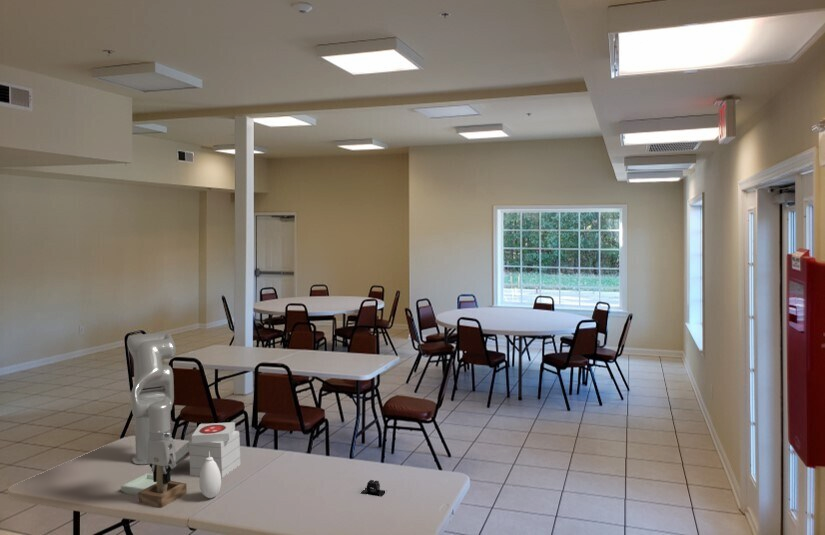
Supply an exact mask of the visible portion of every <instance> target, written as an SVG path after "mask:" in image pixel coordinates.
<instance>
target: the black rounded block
mask: <svg viewBox="0 0 825 535" xmlns="http://www.w3.org/2000/svg"><path fill="white" fill-rule="evenodd" d="M380 485H381V484H380V481H379V480H373V479H370V480H369V481H368V482H367V483H366V487H364V488H365V490H363V489H362V490H363V491H362V490H361V491H362V492H361V491H360V492H361V493H360V494H362V495H367V494H368V496H374V497H380V498H382V497H383V496H384V495H385V494H386V493H385V490H384V489H380V488H381V486H380Z"/></svg>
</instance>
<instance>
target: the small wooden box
mask: <svg viewBox="0 0 825 535" xmlns="http://www.w3.org/2000/svg"><path fill="white" fill-rule="evenodd" d="M187 491H188V490H187V483H184V482H179V481H175V480H171V481H170V482H168V485H167V491H166V492H164V493H162V494H159V493H158V489H157V483H156V484H154V485H152V486H150V487H148V488H146V489H144V490H142V491H140V492H138V495H137V496H138V500H137V501H138V503H139V504H144V505H148V506H153V507H156V508H157V507H158V508H164V507H166V506H167V505H169V504H170V503H173V502H174V501H177V500H178V499H180V498H182V497H183V496H185V495H186V494H187Z"/></svg>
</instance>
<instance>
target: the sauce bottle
mask: <svg viewBox="0 0 825 535" xmlns="http://www.w3.org/2000/svg"><path fill="white" fill-rule="evenodd" d="M198 482H199V489H200V492H201V493H202V495H203V496H204V497H206V498H208V499H212V498H214V497H216V495H219V492H220V490H221V487H222V478H221V474H220V470H219V468H218V466H217V464H216V462H215V461H214V460H213V457H210V452H209V457H208V458H206V461H205V463H204V464H203V466H202V469H201V473H200V476H199V481H198Z"/></svg>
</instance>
